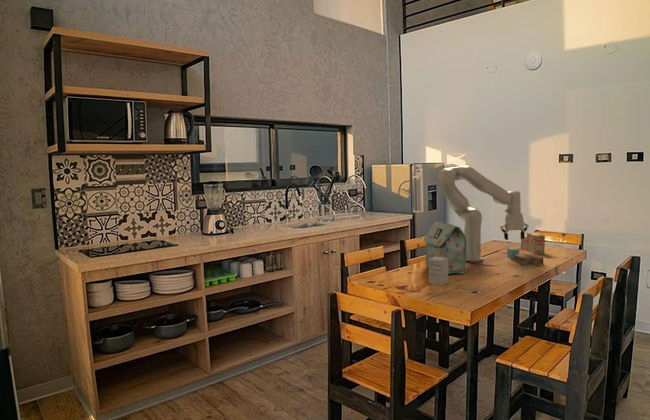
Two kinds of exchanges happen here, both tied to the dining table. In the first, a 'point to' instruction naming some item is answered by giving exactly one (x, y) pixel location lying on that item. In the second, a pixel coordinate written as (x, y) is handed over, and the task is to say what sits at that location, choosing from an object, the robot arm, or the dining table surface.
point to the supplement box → (438, 270)
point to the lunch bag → (447, 245)
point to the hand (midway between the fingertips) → (514, 239)
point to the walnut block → (528, 259)
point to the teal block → (512, 252)
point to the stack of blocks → (533, 243)
